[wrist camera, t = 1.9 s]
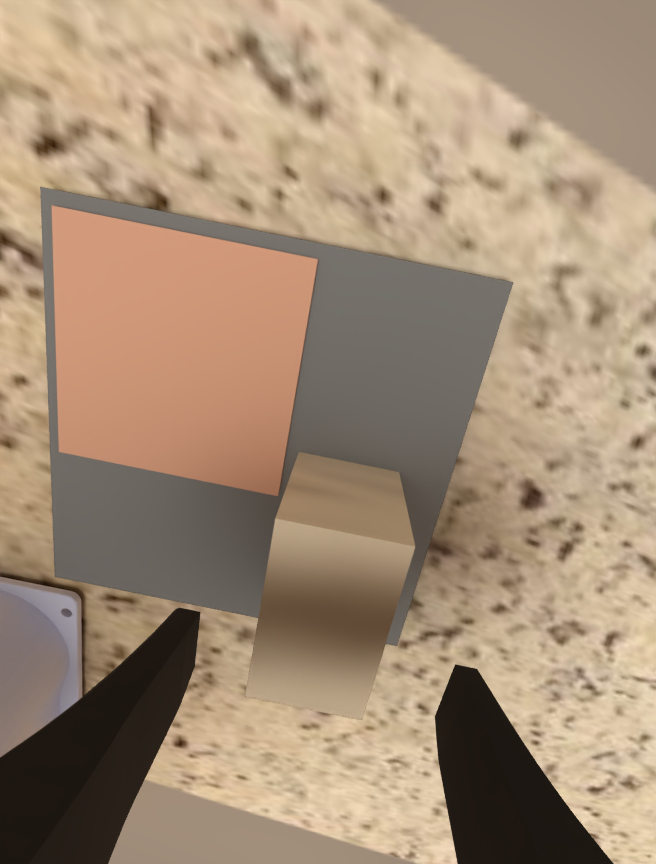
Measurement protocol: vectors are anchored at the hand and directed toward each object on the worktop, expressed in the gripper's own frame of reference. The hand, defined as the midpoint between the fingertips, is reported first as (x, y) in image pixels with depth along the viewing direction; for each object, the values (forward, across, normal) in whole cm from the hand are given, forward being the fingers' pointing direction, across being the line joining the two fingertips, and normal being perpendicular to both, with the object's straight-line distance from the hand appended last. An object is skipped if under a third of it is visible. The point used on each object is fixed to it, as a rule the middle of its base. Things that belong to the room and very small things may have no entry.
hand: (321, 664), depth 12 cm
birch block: (+6, 0, 0) cm, 6 cm away
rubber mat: (+7, +4, -3) cm, 8 cm away
